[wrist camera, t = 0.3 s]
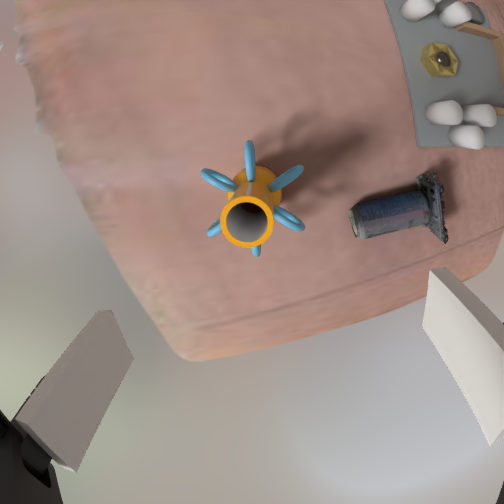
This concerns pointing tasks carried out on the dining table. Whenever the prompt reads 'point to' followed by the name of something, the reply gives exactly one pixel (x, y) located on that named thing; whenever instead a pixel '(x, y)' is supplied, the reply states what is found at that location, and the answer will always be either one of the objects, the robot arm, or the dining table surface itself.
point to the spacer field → (456, 87)
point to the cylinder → (252, 203)
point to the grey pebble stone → (475, 13)
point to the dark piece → (402, 211)
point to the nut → (439, 60)
